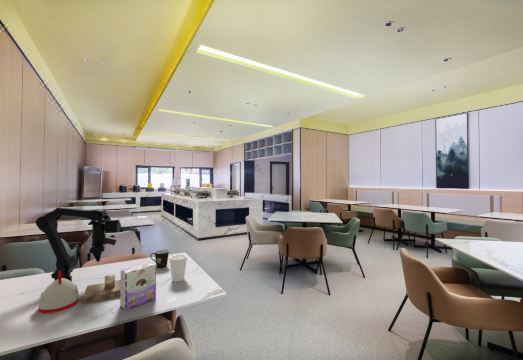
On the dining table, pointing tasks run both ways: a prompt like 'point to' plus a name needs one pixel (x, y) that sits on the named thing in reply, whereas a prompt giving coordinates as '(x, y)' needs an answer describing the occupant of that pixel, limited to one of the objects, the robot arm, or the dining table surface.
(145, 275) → the candy box
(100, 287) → the board
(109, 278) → the peg
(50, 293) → the kitchen timer
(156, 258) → the coffee mug
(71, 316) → the dining table surface
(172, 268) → the foam cup
